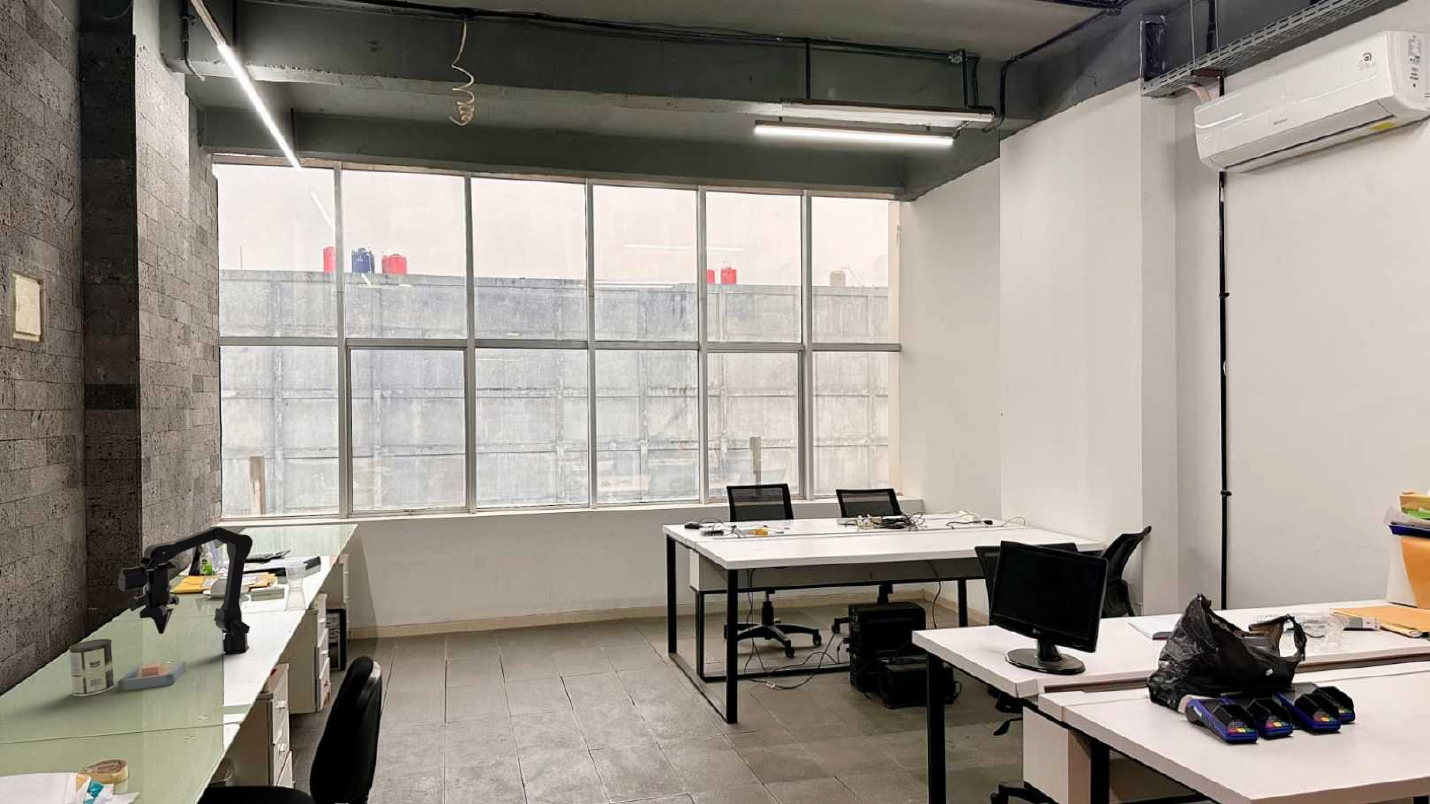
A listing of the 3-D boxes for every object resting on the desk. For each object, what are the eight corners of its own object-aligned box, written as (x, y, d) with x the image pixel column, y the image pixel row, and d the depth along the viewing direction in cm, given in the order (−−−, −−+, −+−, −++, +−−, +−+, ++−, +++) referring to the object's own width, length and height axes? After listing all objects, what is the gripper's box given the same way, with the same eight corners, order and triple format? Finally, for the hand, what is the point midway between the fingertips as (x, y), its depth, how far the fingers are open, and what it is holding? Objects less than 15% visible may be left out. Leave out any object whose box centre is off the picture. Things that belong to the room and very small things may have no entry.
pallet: (174, 675, 272) (174, 668, 272) (165, 684, 263) (165, 676, 263) (141, 679, 269) (141, 672, 269) (131, 688, 261) (131, 681, 261)
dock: (185, 670, 275) (185, 661, 275) (173, 684, 262) (172, 674, 262) (134, 677, 271) (133, 667, 271) (118, 691, 258) (117, 681, 258)
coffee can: (98, 683, 266) (95, 637, 266) (122, 685, 263) (119, 639, 263) (63, 695, 257) (60, 647, 257) (88, 697, 253) (85, 649, 253)
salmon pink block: (163, 672, 268) (162, 662, 268) (158, 676, 264) (158, 666, 264) (146, 674, 267) (146, 664, 267) (142, 678, 263) (141, 668, 263)
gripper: (139, 581, 283) (142, 629, 283) (118, 593, 265) (121, 644, 265) (178, 577, 286) (181, 625, 286) (160, 589, 268) (163, 639, 269)
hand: (161, 633), depth 277 cm, fingers closed
